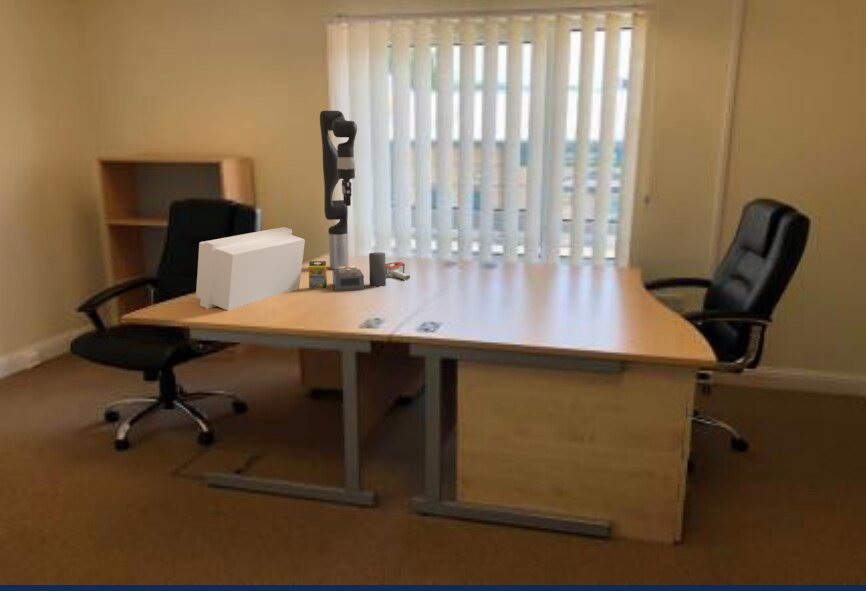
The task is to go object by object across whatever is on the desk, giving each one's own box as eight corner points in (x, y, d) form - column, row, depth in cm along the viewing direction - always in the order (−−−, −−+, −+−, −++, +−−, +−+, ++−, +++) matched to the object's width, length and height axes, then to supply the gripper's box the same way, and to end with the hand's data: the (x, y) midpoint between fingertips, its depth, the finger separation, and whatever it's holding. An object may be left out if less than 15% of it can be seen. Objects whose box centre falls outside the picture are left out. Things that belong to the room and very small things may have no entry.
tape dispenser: (408, 285, 311) (416, 273, 329) (408, 273, 309) (416, 262, 328) (370, 281, 313) (380, 270, 332) (370, 270, 312) (381, 259, 330)
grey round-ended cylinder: (368, 283, 305) (368, 252, 301) (384, 282, 306) (383, 252, 303) (371, 287, 298) (370, 255, 295) (386, 286, 300) (386, 254, 296)
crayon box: (309, 288, 295) (308, 262, 292) (310, 287, 298) (308, 261, 295) (326, 288, 295) (325, 262, 292) (327, 287, 298) (326, 260, 295)
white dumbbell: (338, 272, 297) (338, 266, 296) (356, 271, 299) (356, 265, 298) (339, 273, 296) (339, 268, 295) (356, 272, 298) (356, 267, 297)
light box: (271, 280, 304) (276, 224, 296) (301, 291, 297) (308, 234, 289) (192, 302, 266) (196, 238, 258) (224, 316, 259) (229, 251, 251)
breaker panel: (333, 283, 305) (332, 270, 303) (360, 282, 307) (359, 269, 306) (335, 290, 291) (335, 277, 290) (364, 289, 294) (363, 275, 292)
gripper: (335, 166, 307) (337, 203, 311) (338, 168, 294) (340, 206, 297) (352, 166, 309) (353, 202, 313) (356, 168, 295) (357, 206, 299)
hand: (347, 204), depth 305 cm, fingers open, 8 cm apart
